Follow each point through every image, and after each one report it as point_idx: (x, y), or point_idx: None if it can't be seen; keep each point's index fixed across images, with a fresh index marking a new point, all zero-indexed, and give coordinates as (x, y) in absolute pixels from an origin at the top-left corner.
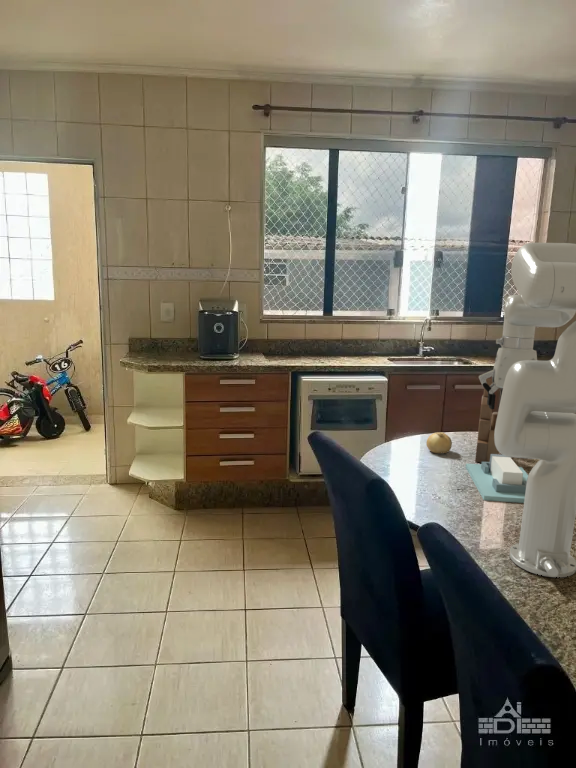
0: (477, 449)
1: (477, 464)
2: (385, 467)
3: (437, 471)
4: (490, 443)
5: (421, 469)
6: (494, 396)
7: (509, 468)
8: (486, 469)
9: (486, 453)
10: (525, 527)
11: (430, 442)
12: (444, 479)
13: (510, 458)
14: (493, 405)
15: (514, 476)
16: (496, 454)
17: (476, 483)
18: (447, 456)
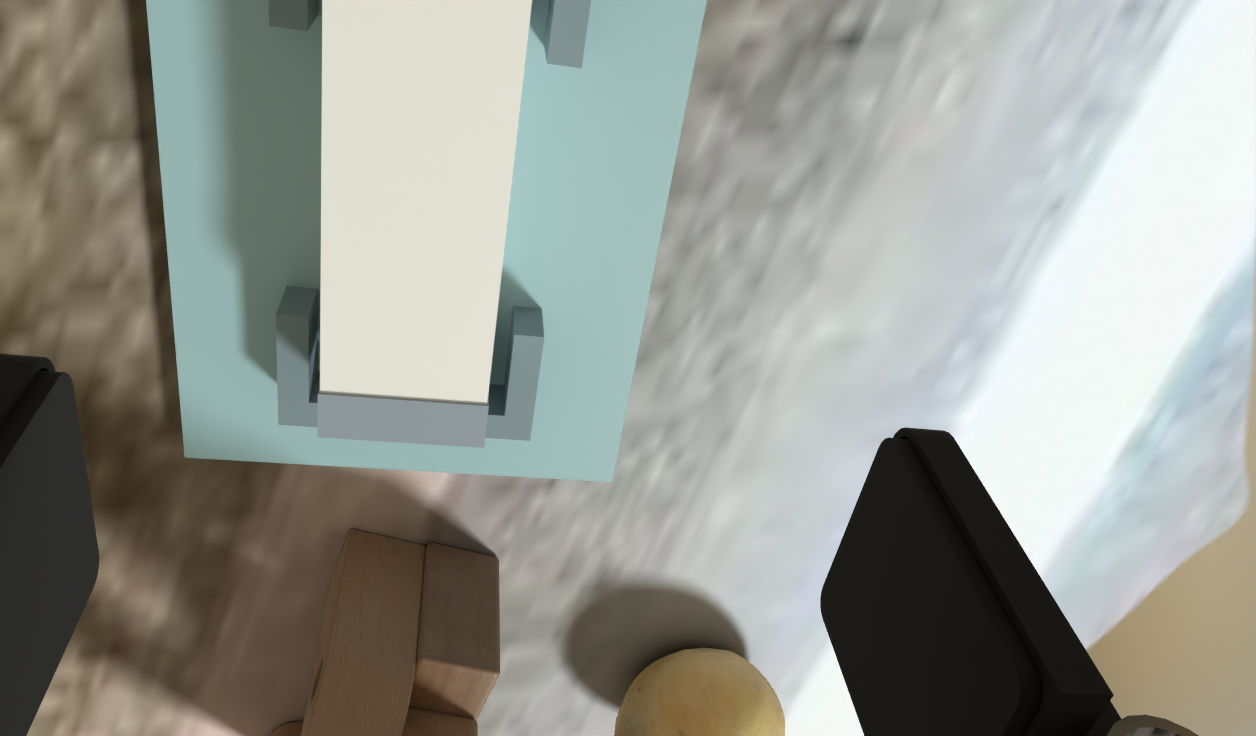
0: (493, 626)
1: (530, 471)
2: (1170, 412)
3: (847, 375)
4: (398, 660)
5: (944, 400)
6: (1046, 643)
7: (430, 93)
8: (529, 324)
9: (428, 596)
10: None
11: (779, 715)
12: (866, 234)
13: (328, 362)
14: (944, 476)
15: None
16: (433, 439)
17: (682, 112)
18: (659, 622)
